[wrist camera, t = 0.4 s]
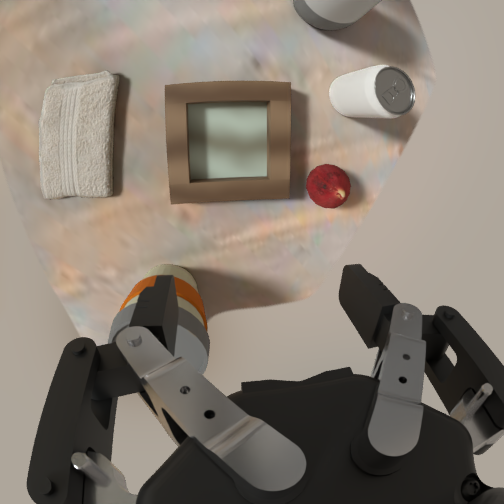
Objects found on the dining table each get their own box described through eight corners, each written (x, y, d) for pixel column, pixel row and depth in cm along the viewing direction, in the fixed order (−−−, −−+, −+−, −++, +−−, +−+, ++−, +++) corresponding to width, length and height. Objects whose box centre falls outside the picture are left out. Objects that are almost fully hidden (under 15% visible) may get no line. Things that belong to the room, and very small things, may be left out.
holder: (169, 89, 31) (164, 85, 28) (283, 86, 33) (290, 82, 30) (174, 197, 38) (171, 204, 34) (283, 192, 39) (289, 198, 36)
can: (375, 98, 35) (426, 96, 24) (349, 126, 36) (397, 131, 25) (345, 66, 32) (392, 52, 21) (318, 94, 34) (360, 85, 23)
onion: (292, 190, 39) (310, 205, 32) (310, 154, 37) (332, 161, 30) (326, 205, 41) (349, 224, 34) (343, 171, 39) (370, 183, 32)
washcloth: (122, 70, 29) (115, 66, 26) (117, 195, 37) (110, 201, 34) (51, 82, 27) (41, 80, 25) (50, 197, 35) (40, 202, 32)
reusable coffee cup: (211, 319, 47) (213, 389, 33) (139, 320, 45) (121, 387, 32) (207, 251, 42) (206, 314, 28) (125, 254, 40) (92, 314, 27)
